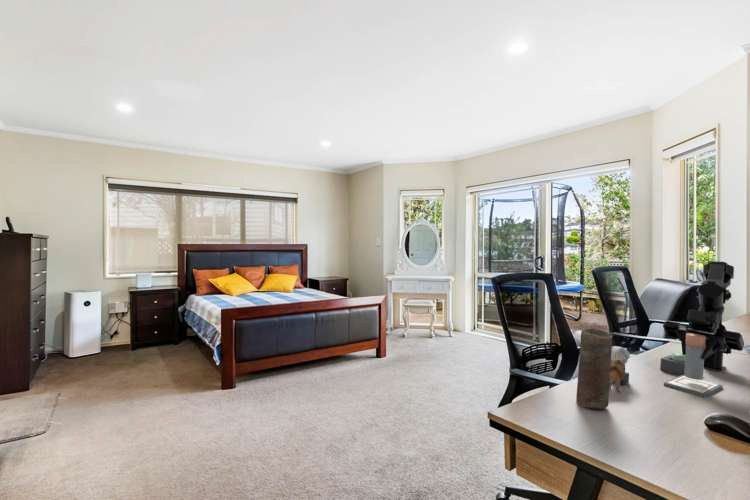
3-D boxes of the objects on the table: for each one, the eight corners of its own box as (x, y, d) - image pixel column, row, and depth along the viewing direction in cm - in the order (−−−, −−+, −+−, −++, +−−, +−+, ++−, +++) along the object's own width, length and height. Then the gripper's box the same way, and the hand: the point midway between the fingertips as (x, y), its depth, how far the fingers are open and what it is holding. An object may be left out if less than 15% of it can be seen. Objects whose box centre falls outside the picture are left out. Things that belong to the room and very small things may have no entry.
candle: (605, 402, 102) (608, 329, 102) (612, 414, 95) (616, 336, 95) (573, 398, 105) (576, 326, 104) (578, 409, 98) (582, 332, 97)
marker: (686, 373, 119) (688, 332, 118) (705, 377, 115) (707, 335, 114) (681, 376, 116) (684, 334, 115) (701, 381, 112) (703, 337, 112)
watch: (631, 381, 118) (632, 347, 118) (620, 387, 114) (622, 351, 113) (611, 376, 123) (612, 342, 123) (600, 381, 118) (602, 346, 118)
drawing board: (682, 377, 123) (682, 374, 123) (722, 388, 115) (722, 384, 115) (663, 385, 116) (663, 381, 116) (705, 397, 107) (705, 393, 107)
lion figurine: (612, 384, 116) (613, 355, 115) (629, 391, 111) (631, 361, 111) (578, 391, 110) (580, 360, 109) (596, 398, 105) (597, 366, 105)
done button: (674, 360, 132) (674, 352, 132) (690, 364, 128) (690, 355, 128) (669, 362, 130) (669, 353, 130) (684, 366, 126) (685, 357, 126)
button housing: (670, 366, 135) (670, 355, 134) (698, 373, 128) (698, 361, 128) (660, 369, 130) (660, 358, 130) (688, 377, 124) (689, 365, 123)
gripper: (666, 296, 125) (649, 333, 119) (743, 305, 109) (727, 348, 103) (675, 317, 129) (659, 354, 124) (750, 329, 113) (736, 372, 108)
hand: (692, 356), depth 114 cm, fingers closed on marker, 4 cm apart
